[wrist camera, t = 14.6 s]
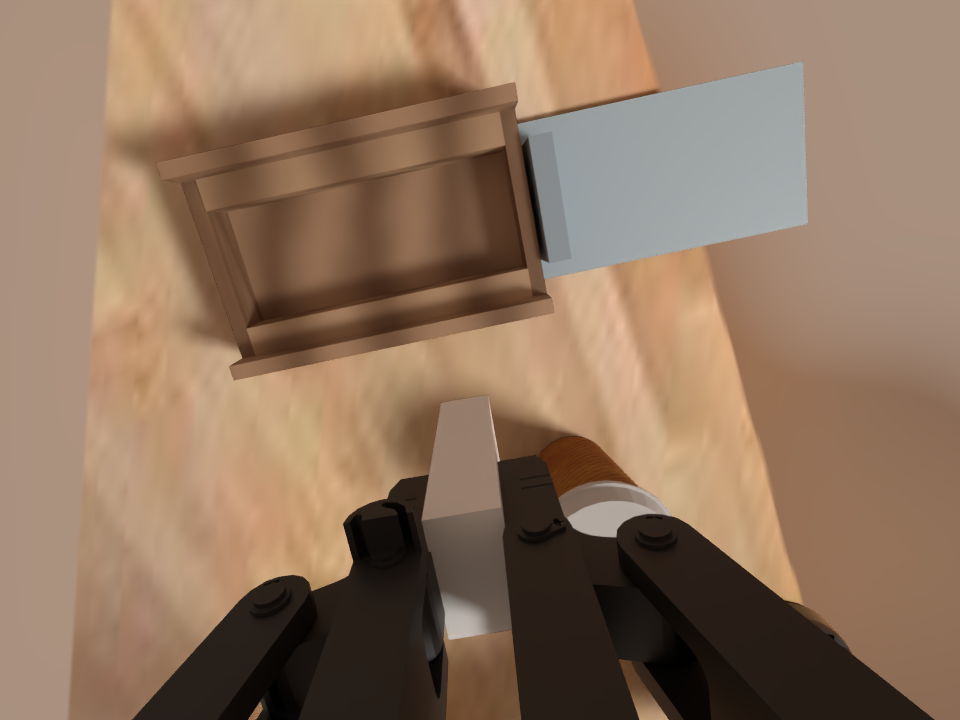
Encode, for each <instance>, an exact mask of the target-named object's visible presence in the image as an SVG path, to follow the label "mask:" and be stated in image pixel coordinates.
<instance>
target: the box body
mask: <svg viewBox="0 0 960 720" xmlns="http://www.w3.org/2000/svg"><path fill="white" fill-rule="evenodd" d="M517 102H518V97H517V91H516V85H515V82H513V83H508V84H504V85H500V86H495V87H491V88H486V89H482V90H477V91H473V92H469V93H464V94H460V95H455V96H451V97H446V98H442V99H437V100H433V101H429V102H424V103H420V104H415V105H411V106H406V107H402V108H397V109H393V110H389V111H384V112H380V113H375V114H371V115H366V116H362V117H358V118H353V119H349V120H344V121H340V122H335V123H331V124H326V125H322V126H318V127H313V128H309V129H304V130H300V131H295V132H291V133H286V134H282V135H278V136H273V137H269V138H264V139H260V140H255V141H251V142H247V143H242V144H238V145H233V146H229V147H224V148H220V149H215V150H211V151H207V152H202V153H198V154H193V155H189V156H184V157H180V158H175V159H171V160H167V161H162V162H158V163H156V166H157V169H158V171H159V174H160V177H161V180H163V181H170V182H176V183H181V184H182V187H183V190H184V193H185V196H186V199H187V202H188V204H189V207H190V210H191V213H192V216H193V219H194V221H195V224H196V227H197V230H198V233H199V236H200V239H201V241H202V244H203V247H204V250H205V253H206V256H207V258H208V261H209V264H210V267H211V270H212V273H213V276H214V278H215V281H216V284H217V287H218V290H219V293H220V295H221V298H222V301H223V304H224V307H225V310H226V313H227V315H228V318H229V321H230V324H231V327H232V330H233V333H234V335H235V338H236V341H237V344H238V347H239V350H240V352H241V355H242V359H241V360H239V361H237V362H236V363H234V364H232V365H231V366H229V368H230V371H231V374H232V377H233V379H234V380H239V379H243V378H248V377H253V376H257V375H262V374H267V373H272V372H276V371H281V370H286V369H291V368H295V367H300V366H305V365H310V364H314V363H319V362H324V361H329V360H333V359H338V358H343V357H347V356H352V355H357V354H362V353H366V352H371V351H376V350H381V349H385V348H390V347H395V346H400V345H404V344H409V343H414V342H419V341H423V340H428V339H433V338H438V337H442V336H447V335H452V334H456V333H461V332H466V331H471V330H475V329H480V328H485V327H490V326H494V325H499V324H504V323H509V322H513V321H518V320H523V319H528V318H532V317H537V316H542V315H546V314H551V313H554V307H553V302H552V298H551V297H550V296H549V295H548V294H547V292H546V286H545V280H544V274H543V269H542V263H541V257H540V251H539V245H538V240H537V234H536V228H535V222H534V217H533V211H532V205H531V199H530V193H529V188H528V182H527V176H526V170H525V165H524V159H523V153H522V147H521V141H520V136H519V130H518V124H517V118H516V113H515V107H516V104H517Z"/></svg>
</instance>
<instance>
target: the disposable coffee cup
mask: <svg viewBox="0 0 960 720" xmlns="http://www.w3.org/2000/svg"><path fill="white" fill-rule="evenodd" d="M539 458H540V459H541V460H543V461H544V462H546V463H547V466H548V469H549V472H550V476H551V478H552V481H553V485H554V487H555V490H556V493H557V496H558V499H559V502H560V505H561V508H562V511H563V514H564V517H566V518H567V519H568V520H569V522H570V523H571V524H572V527H573V528H574V529H576V530H578V531H580V532H582V533H585V534H589V535H593V536H601V537H616V535H617V529H618V528H619V527H620V525H621V524H622V523H623V522H624V521H626V520H628V519H630V518H632V517H634V516H639V515H644V514H663V515H667V516H671V514H670V512H669V510H668V509H667V508H666V507H665V506H664V504H663V503H662V502H661V501H660V500H659V499H658V498H657V497H656V496H654V495H653V494H651V493H649V492H647V491H646V490H644V489H642V488H640V487H638V485H636V484H635V483H634V481H632V480H631V478H630V477H628V476H627V474H625V473H624V471H623V470H622V469H621V468H620V467H619V466H618V465H617V464H616V463H615V462H614V461H613V460H612V459H611V458H610V457H609V456H608V455H607V454H606V453H605V452H604V451H603V450H602V449H601V448H600V447H599V446H598V445H597V444H596V443H594V442H592V441H590V440H588V439H586V438H582V437H575V436H574V437H565V438H561V439H559V440H556V441H554V442H553V443H551V444H550V445H549V446H547V447H546V448H545V449H544V450H543V451H542V453H541V454H540V456H539ZM671 517H672V516H671Z"/></svg>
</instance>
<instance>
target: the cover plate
mask: <svg viewBox="0 0 960 720" xmlns="http://www.w3.org/2000/svg"><path fill="white" fill-rule="evenodd" d="M803 80H804V79H803V62H798V63H794V64H789V65H784V66H780V67H775V68H771V69H766V70H761V71H757V72H753V73H748V74H743V75H739V76H734V77H729V78H725V79H720V80H716V81H711V82H707V83H702V84H697V85H693V86H688V87H684V88H679V89H675V90H670V91H665V92H661V93H656V94H652V95H647V96H643V97H638V98H634V99H629V100H624V101H620V102H615V103H611V104H606V105H602V106H597V107H592V108H588V109H583V110H579V111H574V112H570V113H565V114H561V115H556V116H551V117H547V118H542V119H538V120H533V121H529V122H524V123H519V124H518V130H519V136H520V141H521V147H522V153H523V159H524V165H525V170H526V176H527V182H528V188H529V193H530V199H531V205H532V211H533V217H534V222H535V228H536V234H537V240H538V245H539V251H540V257H541V263H542V269H543V274H544V279H548V278H553V277H557V276H562V275H567V274H572V273H576V272H581V271H586V270H591V269H595V268H600V267H605V266H610V265H614V264H619V263H624V262H629V261H633V260H638V259H643V258H648V257H652V256H657V255H662V254H667V253H672V252H676V251H681V250H686V249H691V248H695V247H700V246H705V245H710V244H714V243H719V242H724V241H728V240H733V239H738V238H743V237H748V236H752V235H757V234H762V233H767V232H771V231H776V230H781V229H785V228H790V227H795V226H800V225H805V224H808V217H807V181H806V148H805V116H804V115H805V114H804V81H803Z"/></svg>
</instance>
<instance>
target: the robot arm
mask: <svg viewBox="0 0 960 720" xmlns="http://www.w3.org/2000/svg"><path fill="white" fill-rule="evenodd" d="M343 526H344V529H345V533H346V537H347V540H348V544H349V547H350V551H351V555H352V558H353V565H352V567H351V570H350V573H349V576H347V577H346V578H344V579H341V580H339V581H337V582H335V583H332V584H330V585H327V586H325V587H322V588H319V589H317V590H314V591H311V587H310V584H309V582H308V581H307V580H306V579H305V578H304V577H301V576H296V575H289V576H282V577H277V578H274V579H272V580H268V581H266V582H264V583H263V584H261V585H259V586H258V587H256V588H254V589H253V590H251V591H250V592H249V593H248V594H247V595H245V596H244V597H243V598H242V599H241V600H240V601H239V602H238V603H237V604H236V605H235V606H234V607H233V609H232V610H231V611H230V612H229V613H228V614H227V615H226V616H225V617H224V619H223V620H222V621H221V622H220V623H219V624H218V625H217V626H216V627H215V629H214V630H213V631H212V632H211V633H210V634H209V635H208V636H207V637H206V639H205V640H204V641H203V642H202V643H201V644H200V645H199V646H198V647H197V648H196V650H195V651H194V652H193V653H192V654H191V655H190V656H189V657H188V658H187V660H186V661H185V662H184V663H183V664H182V665H181V666H180V667H179V668H178V670H177V671H176V672H175V673H174V674H173V675H172V676H171V677H170V678H169V680H168V681H167V682H166V683H165V684H164V685H163V686H162V687H161V688H160V689H159V691H158V692H157V693H156V694H155V695H154V696H153V697H152V698H151V699H150V701H149V702H148V703H147V704H146V705H145V706H144V707H143V708H142V709H141V711H140V712H139V713H138V714H137V715H136V716H135V717H134V718H133V719H132V720H248V719H249V717H250V716H251V714H252V713H253V711H254V710H255V708H256V707H257V705H258V704H259V702H260V701H261V704H262V707H263V710H262V712H261V713H260V715H259V716H258V718H257V719H256V720H446V703H447V681H448V658H447V653H446V649H445V644H444V640H443V638H444V623H445V625H446V629H447V634H448V638H449V640H452V639H458V638H464V637H470V636H477V635H483V634H489V633H495V632H502V631H508V630H512V634H513V644H514V653H515V663H516V672H517V682H518V692H519V701H520V711H521V720H639V717H638V714H637V712H636V709H635V706H634V703H633V700H632V697H631V694H630V691H629V688H628V686H627V683H626V680H625V677H624V674H623V671H622V668H621V665H620V662H619V660H618V659H623V660H631V662H632V664H633V666H634V669H635V671H636V673H637V674H638V675H639V677H640V678H641V680H642V681H643V683H644V684H645V686H646V687H647V688H648V690H649V691H650V693H651V694H652V696H653V697H654V699H655V700H656V702H657V703H658V704H659V706H660V707H661V709H662V710H663V712H664V713H665V715H666V716H667V718H668V719H669V720H934V719H933V718H932V717H930V716H929V715H928V714H927V713H925V712H924V711H923V710H921V709H920V708H919V707H918V706H917V705H915V704H914V703H913V702H912V701H910V700H909V699H908V698H907V697H905V696H904V695H903V694H901V693H900V692H899V691H897V690H896V689H895V688H894V687H893V686H891V685H890V684H889V683H888V682H886V681H885V680H884V679H883V678H881V677H880V676H879V675H878V674H876V673H875V672H874V671H872V670H871V669H870V668H869V667H867V666H866V665H865V664H864V663H862V662H861V661H860V660H858V659H857V658H856V657H855V656H854V655H852V653H851V651H850V649H849V647H848V646H847V644H846V643H845V641H844V640H843V639H842V637H841V636H840V635H839V634H838V633H837V632H836V631H835V630H834V629H833V627H832V626H831V625H830V624H829V623H828V622H827V621H826V620H825V619H824V618H823V617H821V616H820V615H819V614H818V613H816V612H815V611H813V610H811V609H809V608H806V607H804V606H801V605H797V604H793V603H787V602H786V601H784V600H783V599H782V598H781V597H779V596H778V595H777V594H776V593H774V592H773V591H772V590H770V589H769V588H768V587H767V586H765V585H764V584H763V583H762V582H760V581H759V580H758V579H757V578H755V577H754V576H753V575H752V574H750V573H749V572H748V571H747V570H745V569H744V568H743V567H742V566H740V565H739V564H738V563H736V562H735V561H734V560H733V559H731V558H730V557H729V556H728V555H726V554H725V553H724V552H723V551H721V550H720V549H719V548H718V547H716V546H715V545H714V544H713V543H711V542H710V541H709V540H708V539H706V538H705V537H704V536H702V535H701V534H700V533H699V532H697V531H696V530H695V529H694V528H692V527H691V526H690V525H689V524H687V523H685V522H683V521H682V520H680V519H678V518H675V517H671V516H667V515H663V514H644V515H639V516H634V517H632V518H630V519H628V520H626V521H624V522H623V523H622V524H621V525H620V527H619V528H618V529H617V535H616V537H601V536H593V535H589V534H585V533H582V532H580V531H578V530H576V529H574V528H573V527H572V524H571V523H570V522H569V520H568V519H567V518H566V517H564V514H563V511H562V508H561V505H560V502H559V499H558V496H557V493H556V490H555V487H554V485H553V481H552V478H551V476H550V472H549V469H548V466H547V463H546V462H544V461H543V460H541V459H540V458H539V457H537V456H536V455H534V456H528V457H523V458H517V459H511V460H505V461H500V459H499V453H498V448H497V442H496V437H495V431H494V425H493V420H492V414H491V409H490V403H489V397H488V395H483V396H478V397H472V398H466V399H460V400H454V401H449V402H443V403H441V406H440V412H439V418H438V424H437V430H436V436H435V442H434V448H433V454H432V460H431V466H430V472H429V475H425V476H419V477H413V478H407V479H401V480H400V481H399V482H398V483H397V484H396V485H395V486H394V487H393V488H392V489H391V490H390V492H389V496H388V499H383V500H379V501H375V502H372V503H369V504H367V505H365V506H363V507H361V508H359V509H357V510H356V511H355V512H353V513H352V514H351V515H349V516H348V518H347V519H346V520H345V522H344V523H343Z"/></svg>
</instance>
